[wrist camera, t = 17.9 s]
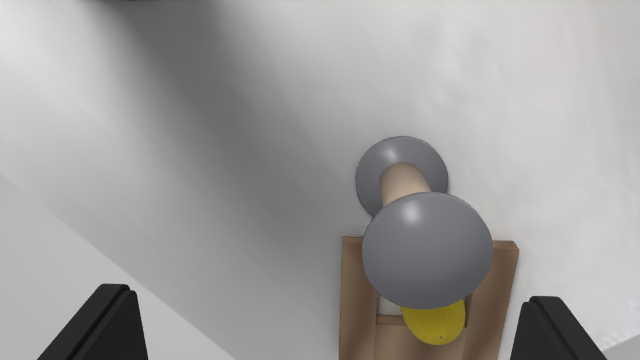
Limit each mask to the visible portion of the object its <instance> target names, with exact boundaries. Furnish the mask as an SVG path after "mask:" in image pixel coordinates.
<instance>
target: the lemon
mask: <svg viewBox="0 0 640 360" xmlns="http://www.w3.org/2000/svg"><path fill="white" fill-rule="evenodd" d="M401 311H402V315H403V318H404V320H405V322H406V324H407V326H408V328H409V329H410V331H411V332H412V333H413V334H414V335H415V336H416V337H417V338H418V339H420V340H421V341H423V342H425V343H428V344H432V345H443V344H447V343H449V342H451V341H453V340H454V339H455V338H457V337H458V335H459V334H460V333H461V331H462V329H463V327H464V324H465V306H464V301H463V299H462V300H460V301H458V302H456V303H454V304H451V305H448V306H445V307H441V308H436V309H424V310H421V309H411V308H406V307H403V306H401Z"/></svg>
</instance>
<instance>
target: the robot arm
mask: <svg viewBox="0 0 640 360" xmlns="http://www.w3.org/2000/svg"><path fill="white" fill-rule="evenodd" d="M37 360H148V355H147V349H146V344H145V338H144V332H143V327H142V321H141V316H140V310H139V304H138V299H137V294H136V292H135V291H133V290H130V288H129V286H128V285H126V284H102V285H100V286H99V287H98V288H97V289H96V290H95V292H94V293H93V294H92V295H91V296H90V298H89V299H88V300H87V301H86V302H85V303H84V305H83V306H82V307H81V308H80V309H79V311H78V312H77V313H76V314H75V315H74V316H73V318H72V319H71V320H70V321H69V322H68V324H67V325H66V326H65V327H64V328H63V330H62V331H61V332H60V333H59V334H58V335H57V337H56V338H55V339H54V340H53V341H52V342H51V344H50V345H49V346H48V347H47V348H46V350H45V351H44V352H43V353H42V354H41V355H40V357H39V358H38V359H37ZM510 360H607V359H606V358H605V356H604V355H603V354H602V352H601V351H600V350H599V348H598V347H597V346H596V344H595V343H594V342H593V340H592V339H591V338H590V336H589V335H588V334H587V332H586V331H585V330H584V328H583V327H582V326H581V324H580V323H579V322H578V321H577V319H576V318H575V317H574V315H573V314H572V313H571V311H570V310H569V309H568V307H567V306H566V305H565V303H564V302H563V301H562V300H561V299H560V298H559V297H553V296H532V297H531V298H530V300H529V302H524V303H523V304H522V307H521V311H520V316H519V321H518V325H517V330H516V334H515V339H514V344H513V348H512V353H511V357H510Z"/></svg>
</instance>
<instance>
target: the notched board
mask: <svg viewBox="0 0 640 360" xmlns="http://www.w3.org/2000/svg"><path fill="white" fill-rule="evenodd" d="M363 238H364V237H342V271H341V305H340V339H339V360H497V357H498V352H499V347H500V342H501V337H502V332H503V327H504V322H505V317H506V312H507V307H508V302H509V297H510V292H511V287H512V282H513V278H514V273H515V268H516V263H517V258H518V253H519V248H518V247H517V246H516V244H515V243H514V242H513V241H492V242H493V259H492V263H491V266H490V269H489V271H488V273H487V275H486V277H485V278H484V280H483V281H482V283H481V284H480V285H479V286H478V287H477V288H476V289H475V290H474V291H473V292H472V293H471V294H469V295H468V296H467V297H466V303H465V324H464V327H463V329H462V331H461V333H460V334H459V335H458V337H457V338H455V339H454V340H453V341H451V342H449V343H447V344H443V345H432V344H428V343H425V342H423V341H421V340H420V339H418V338H417V337H416V336H415V335H414V334H413V333H412V332H411V331H410V329H409V328H408V326H407V324H406V322H405V320H404V318H403V316H392V315H376V311H377V296H378V292H377V291H376V290H375V289H374V287H373V286H372V285H371V283H370V282H369V280H368V278H367V276H366V273H365V270H364V265H363V256H362V244H363Z"/></svg>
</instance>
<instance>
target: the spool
mask: <svg viewBox="0 0 640 360" xmlns="http://www.w3.org/2000/svg"><path fill="white" fill-rule="evenodd" d="M355 183H356V191H357V195H358V198H359V201H360V203H361V204H362V206H363V207H364V209H365V210H366V211H367V212H368V213H369V214H371V215H372V216H373V217H374V218H373V219H372V220H371V222H370V224H369V225H368V227H367V229H366V232H365V235H364V238H363V244H362V256H363V265H364V270H365V273H366V276H367V278H368V280H369V282H370V283H371V285H372V286H373V287H374V289H375V290H376V291H377V292H378V293H379V294H380V295H382V296H383V297H384V298H386V299H387V300H389V301H391V302H393V303H395V304H397V305H400V306H403V307H406V308H411V309H421V310H424V309H436V308H441V307H445V306H448V305H451V304H454V303H456V302H458V301H460V300H462V299H463V298H465V297H467V296H468V295H469V294H471V293H472V292H473V291H474V290H475V289H476V288H477V287H478V286H479V285H480V284H481V283H482V281H483V280H484V278H485V277H486V275H487V273H488V271H489V269H490V266H491V263H492V259H493V242H492V237H491V235H490V232H489V230H488V228H487V226H486V224H485V223H484V221H483V220H482V218H481V217H480V215H479V214H478V213H477V212H476V210H475V209H474V208H472V207H471V206H470V205H469V204H468V203H466V202H465V201H463V200H461V199H459V198H457V197H455V196H452V195H449V194H446V190H447V185H448V174H447V169H446V166H445V164H444V162H443V160H442V158H441V157H440V155H439V154H438V153H437V151H436V150H435V149H434V148H433V147H432V146H430V145H429V144H428V143H426V142H424V141H422V140H420V139H417V138H413V137H406V136H399V137H392V138H388V139H385V140H383V141H381V142H379V143H377V144H375V145H374V146H373V147H371V148H370V149H369V150H368V151H367V152H366V153H365V155H364V156H363V157H362V159H361V161H360V162H359V165H358V167H357V171H356V177H355Z"/></svg>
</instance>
